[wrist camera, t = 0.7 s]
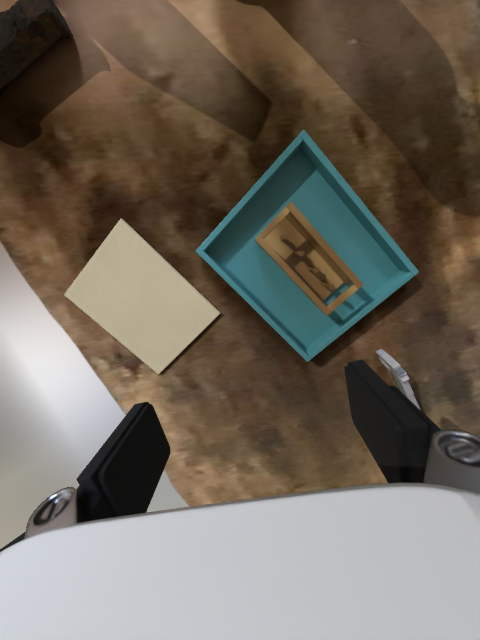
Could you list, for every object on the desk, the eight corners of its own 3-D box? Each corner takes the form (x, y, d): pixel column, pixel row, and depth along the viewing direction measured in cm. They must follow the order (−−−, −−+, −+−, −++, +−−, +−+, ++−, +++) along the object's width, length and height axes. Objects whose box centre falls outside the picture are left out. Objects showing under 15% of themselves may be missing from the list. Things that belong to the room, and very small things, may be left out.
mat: (122, 218, 34) (120, 218, 34) (220, 312, 37) (220, 313, 37) (66, 294, 38) (63, 294, 37) (159, 373, 41) (158, 374, 41)
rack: (285, 208, 32) (291, 201, 27) (348, 280, 34) (364, 284, 30) (254, 240, 34) (254, 239, 29) (317, 307, 36) (327, 316, 31)
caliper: (372, 350, 38) (395, 369, 32) (379, 346, 37) (403, 365, 31) (424, 436, 42) (452, 467, 36) (430, 433, 42) (459, 464, 36)
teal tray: (299, 139, 30) (303, 128, 27) (406, 270, 34) (419, 272, 31) (199, 251, 35) (195, 251, 32) (303, 354, 39) (307, 362, 36)
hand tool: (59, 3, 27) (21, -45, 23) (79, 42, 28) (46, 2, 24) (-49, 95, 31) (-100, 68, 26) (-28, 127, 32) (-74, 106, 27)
